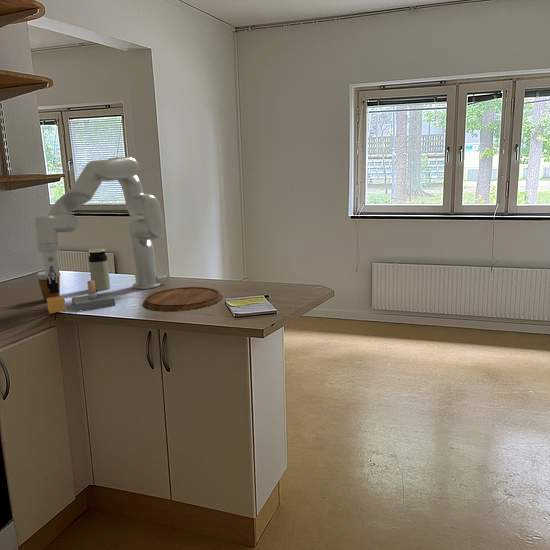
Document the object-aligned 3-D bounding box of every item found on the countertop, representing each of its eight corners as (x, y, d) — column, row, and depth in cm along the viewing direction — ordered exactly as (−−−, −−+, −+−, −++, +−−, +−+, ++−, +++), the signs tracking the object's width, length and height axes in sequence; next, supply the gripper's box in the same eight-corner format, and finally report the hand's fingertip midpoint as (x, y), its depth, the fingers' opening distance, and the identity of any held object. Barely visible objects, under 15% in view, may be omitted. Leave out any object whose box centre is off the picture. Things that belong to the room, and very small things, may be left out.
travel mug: (105, 290, 243) (101, 251, 239) (89, 290, 244) (84, 251, 240) (113, 286, 250) (109, 248, 247) (97, 286, 252) (93, 248, 248)
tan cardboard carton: (64, 307, 216) (62, 295, 215) (66, 311, 211) (64, 298, 210) (48, 310, 213) (46, 298, 212) (49, 313, 208) (47, 301, 207)
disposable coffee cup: (42, 303, 224) (38, 275, 222) (37, 299, 232) (34, 272, 229) (65, 299, 229) (62, 272, 227) (60, 295, 237) (57, 269, 234)
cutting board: (233, 292, 231) (233, 287, 230) (204, 313, 201) (203, 307, 200) (165, 291, 239) (165, 285, 239) (128, 310, 209) (127, 304, 209)
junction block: (109, 299, 227) (107, 276, 225) (115, 305, 216) (112, 281, 214) (72, 304, 220) (69, 281, 218) (76, 311, 210) (73, 286, 208)
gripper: (61, 249, 201) (65, 293, 204) (56, 244, 216) (60, 285, 219) (39, 251, 198) (44, 296, 201) (36, 245, 213) (40, 288, 216)
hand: (53, 290), depth 210 cm, fingers open, 9 cm apart
